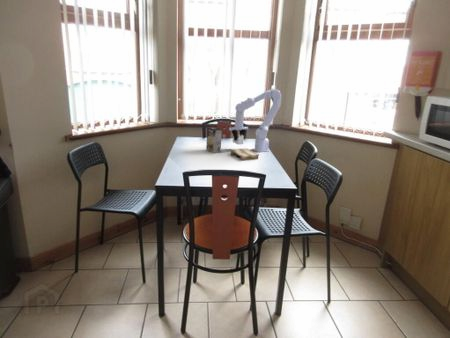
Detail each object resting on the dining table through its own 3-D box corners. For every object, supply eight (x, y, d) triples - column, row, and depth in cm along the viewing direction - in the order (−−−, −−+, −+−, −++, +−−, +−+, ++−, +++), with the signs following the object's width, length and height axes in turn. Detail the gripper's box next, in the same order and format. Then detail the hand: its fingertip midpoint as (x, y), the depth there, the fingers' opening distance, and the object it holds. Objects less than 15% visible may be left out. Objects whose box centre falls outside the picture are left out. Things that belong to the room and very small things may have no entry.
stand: (245, 152, 217) (245, 148, 216) (258, 158, 204) (258, 154, 203) (230, 153, 212) (230, 149, 211) (242, 160, 198) (242, 155, 197)
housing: (237, 141, 226) (238, 132, 224) (243, 144, 219) (243, 134, 217) (232, 141, 224) (233, 132, 222) (238, 144, 217) (238, 135, 215)
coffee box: (205, 150, 218) (206, 127, 213) (212, 149, 222) (213, 126, 217) (214, 153, 211) (215, 129, 206) (221, 152, 215) (222, 129, 210)
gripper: (245, 119, 223) (243, 138, 227) (227, 120, 217) (226, 139, 221) (250, 121, 217) (249, 140, 222) (232, 122, 211) (231, 141, 215)
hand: (238, 140), depth 221 cm, fingers closed on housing, 4 cm apart
